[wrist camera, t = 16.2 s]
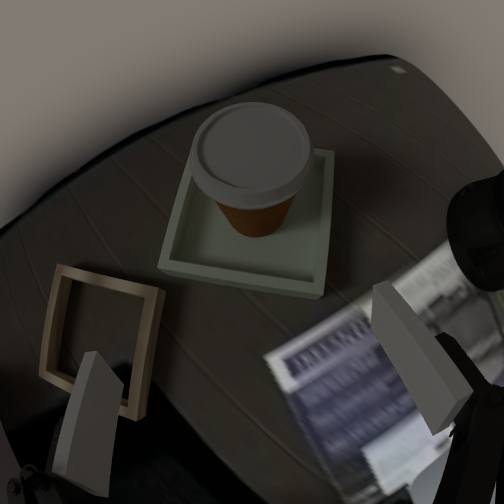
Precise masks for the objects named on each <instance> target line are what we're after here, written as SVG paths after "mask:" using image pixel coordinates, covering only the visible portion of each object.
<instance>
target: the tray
mask: <svg viewBox="0 0 504 504" xmlns="http://www.w3.org/2000/svg"><path fill="white" fill-rule="evenodd" d="M334 152H335V151H330V150H324V149H318V148H314V156H315V160H314V166H313V170H312V172H311V175H310V177H309V179H308V181H307V182H306V184H305V185H304V186H303V187H302V189H301V190H300V191H299V192H297V194H296V196H295V198H294V200H293V202H292V204H291V206H290V208H289V210H288V212H287V214H286V216H285V218H284V220H283V222H282V224H281V226H280V227H279V228H278V229H277V230H276V231H275V232H273V233H272V234H270V235H267V236H264V237H258V238H254V237H248V236H244V235H242V234H240V233H239V232H237V231H236V230H235V229H234V228H233V227H232V225H231V224H230V222H229V221H228V219H227V218H226V217H225V215H224V214H223V212H222V211H221V210H220V208H219V207H218V205H217V204H216V203H215V201H214V200H213V199H212V198H211V197H209V196H207V195H206V194H205V193H204V192H203V191H202V190H201V189H200V187H199V186H198V185H197V184H196V182H195V180H194V178H193V176H192V173H191V170H190V163H189V158H188V161H187V164H186V167H185V170H184V173H183V176H182V180H181V183H180V186H179V189H178V193H177V196H176V199H175V203H174V206H173V210H172V213H171V217H170V220H169V224H168V228H167V231H166V235H165V239H164V243H163V247H162V251H161V255H160V259H159V263H158V267H157V268H158V269H160V270H161V271H163V272H164V273H166V274H167V275H170V276H176V277H181V278H186V279H192V280H197V281H203V282H208V283H214V284H220V285H226V286H232V287H237V288H243V289H250V290H256V291H262V292H268V293H275V294H281V295H288V296H295V297H302V298H309V299H316V300H317V299H318V298H320V297H321V296H323V294H324V285H325V277H326V268H327V258H328V248H329V237H330V225H331V212H332V197H333V178H334ZM189 157H190V155H189Z"/></svg>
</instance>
